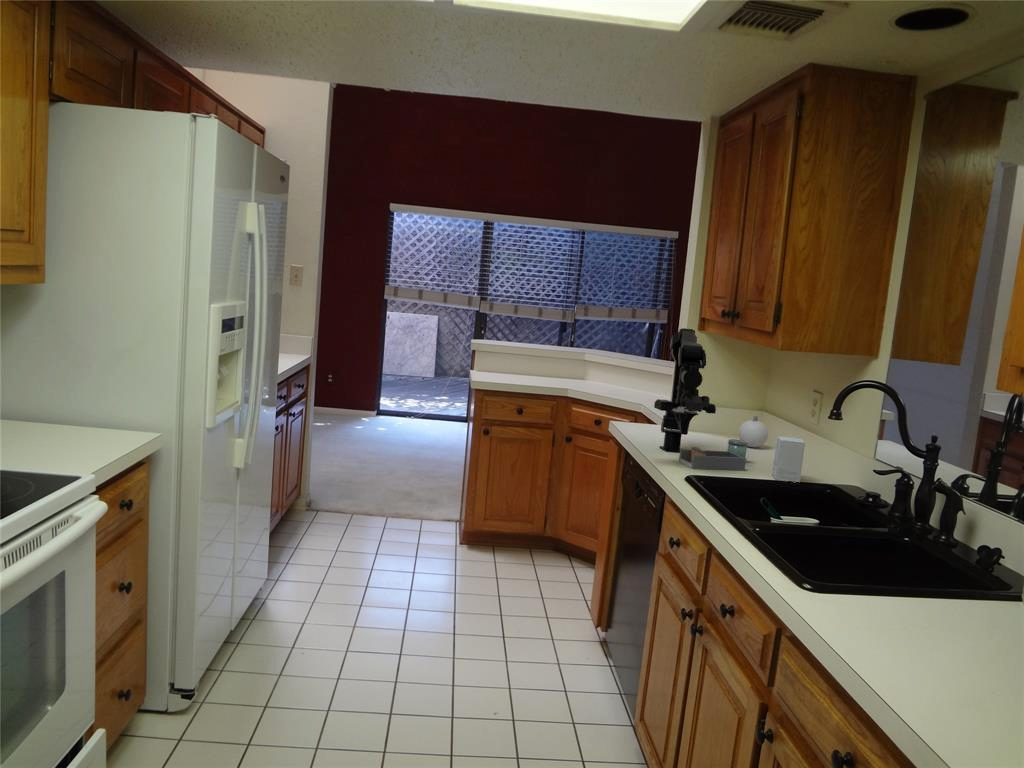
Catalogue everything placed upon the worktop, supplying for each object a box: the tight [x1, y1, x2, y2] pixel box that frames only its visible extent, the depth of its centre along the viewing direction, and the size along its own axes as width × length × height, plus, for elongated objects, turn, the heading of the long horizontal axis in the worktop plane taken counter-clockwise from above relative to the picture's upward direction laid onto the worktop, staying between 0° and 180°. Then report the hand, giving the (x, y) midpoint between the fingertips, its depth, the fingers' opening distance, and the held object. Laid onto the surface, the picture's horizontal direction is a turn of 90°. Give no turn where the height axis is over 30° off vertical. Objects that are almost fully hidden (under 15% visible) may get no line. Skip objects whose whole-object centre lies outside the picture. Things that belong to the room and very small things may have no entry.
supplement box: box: [771, 435, 806, 483], centre depth 235 cm, size 7×7×13 cm
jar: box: [727, 438, 748, 458], centre depth 255 cm, size 6×6×7 cm
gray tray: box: [678, 448, 747, 471], centre depth 245 cm, size 10×18×4 cm, turn 103°
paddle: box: [689, 446, 707, 464], centre depth 244 cm, size 7×2×5 cm, turn 13°
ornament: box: [738, 415, 769, 448], centre depth 285 cm, size 10×10×12 cm
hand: (682, 433), depth 241 cm, fingers closed
